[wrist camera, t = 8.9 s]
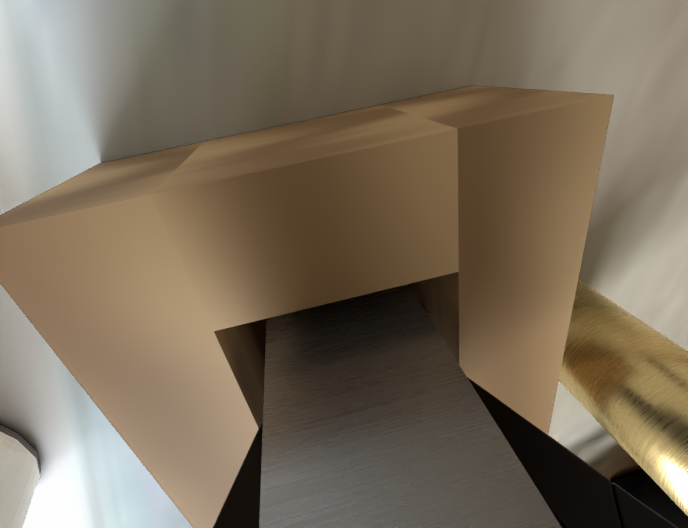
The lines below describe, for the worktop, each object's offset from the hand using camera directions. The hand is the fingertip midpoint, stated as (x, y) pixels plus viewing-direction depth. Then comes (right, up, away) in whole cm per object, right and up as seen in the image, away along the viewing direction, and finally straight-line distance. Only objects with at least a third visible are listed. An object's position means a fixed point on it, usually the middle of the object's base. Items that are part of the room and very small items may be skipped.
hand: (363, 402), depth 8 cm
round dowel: (+8, +1, +7) cm, 11 cm away
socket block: (-1, +3, +5) cm, 6 cm away
